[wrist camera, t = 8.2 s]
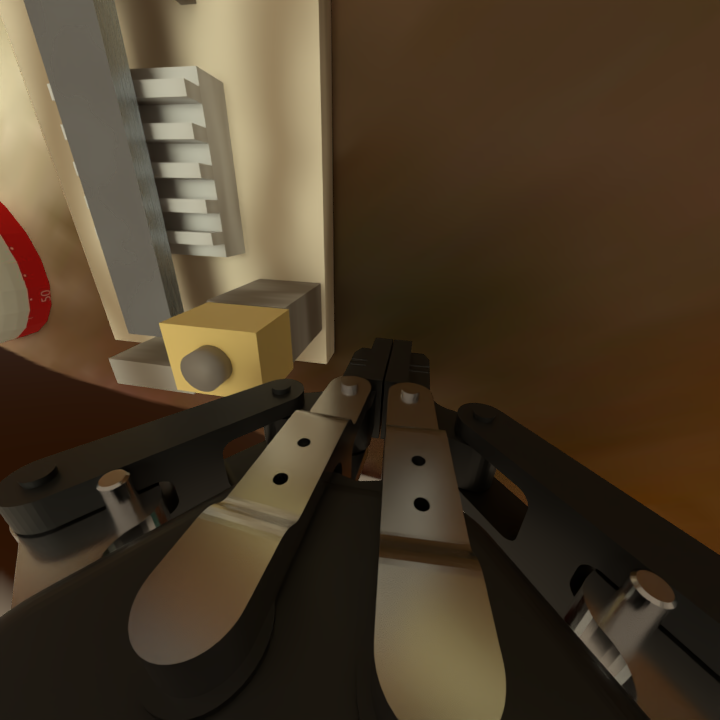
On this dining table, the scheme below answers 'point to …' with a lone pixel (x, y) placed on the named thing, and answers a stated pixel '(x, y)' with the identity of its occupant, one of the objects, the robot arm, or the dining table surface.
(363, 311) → the dining table surface
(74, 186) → the cream board with rail
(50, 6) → the strap
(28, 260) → the kitchen timer
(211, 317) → the block
